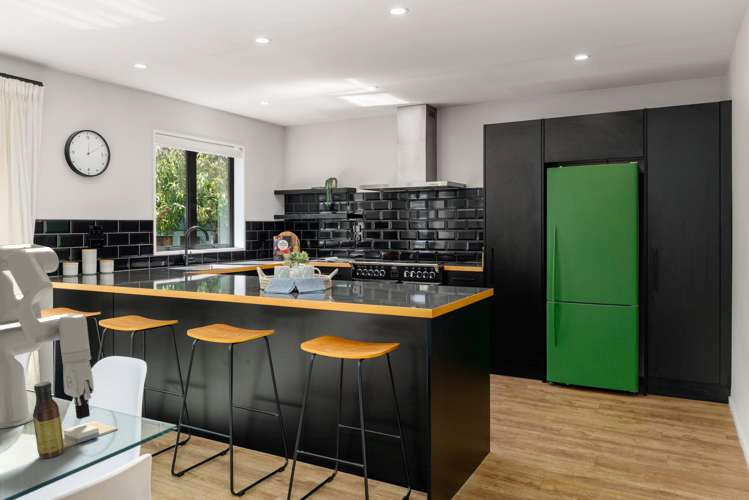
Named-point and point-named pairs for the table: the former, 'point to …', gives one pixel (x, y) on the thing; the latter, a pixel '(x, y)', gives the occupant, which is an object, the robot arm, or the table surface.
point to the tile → (81, 433)
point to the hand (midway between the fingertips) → (83, 417)
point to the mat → (102, 430)
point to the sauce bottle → (47, 422)
